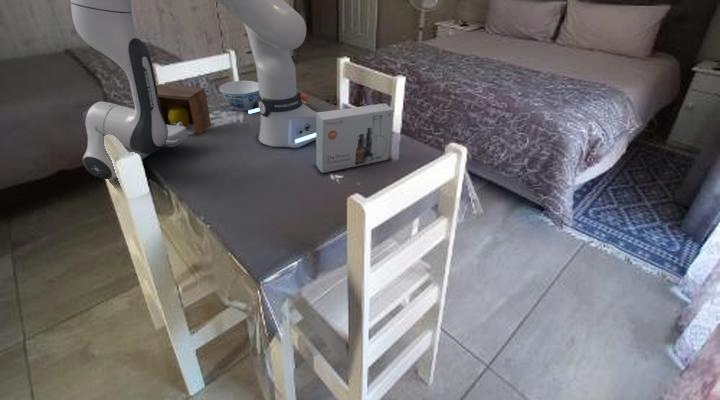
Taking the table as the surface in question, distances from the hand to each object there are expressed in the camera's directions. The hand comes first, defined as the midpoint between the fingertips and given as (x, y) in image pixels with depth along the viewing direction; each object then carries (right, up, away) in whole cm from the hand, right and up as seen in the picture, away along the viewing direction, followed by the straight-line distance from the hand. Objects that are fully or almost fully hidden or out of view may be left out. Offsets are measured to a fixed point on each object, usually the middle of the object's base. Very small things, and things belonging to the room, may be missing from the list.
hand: (165, 122), depth 119 cm
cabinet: (+1, 0, +10) cm, 10 cm away
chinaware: (+16, +11, +27) cm, 33 cm away
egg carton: (+34, +11, +29) cm, 46 cm away
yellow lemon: (+1, 0, +9) cm, 9 cm away
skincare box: (+57, -13, -6) cm, 59 cm away
